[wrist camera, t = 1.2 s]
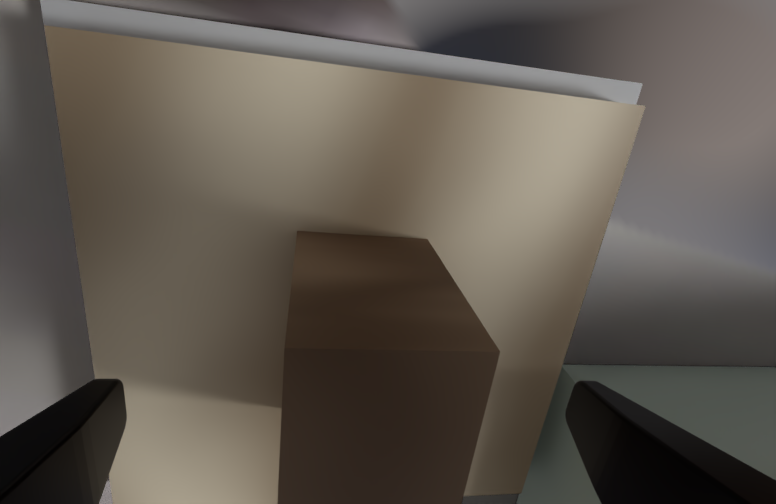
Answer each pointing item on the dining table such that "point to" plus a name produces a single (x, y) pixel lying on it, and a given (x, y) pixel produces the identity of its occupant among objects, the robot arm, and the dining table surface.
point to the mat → (326, 52)
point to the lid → (326, 267)
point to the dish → (672, 402)
